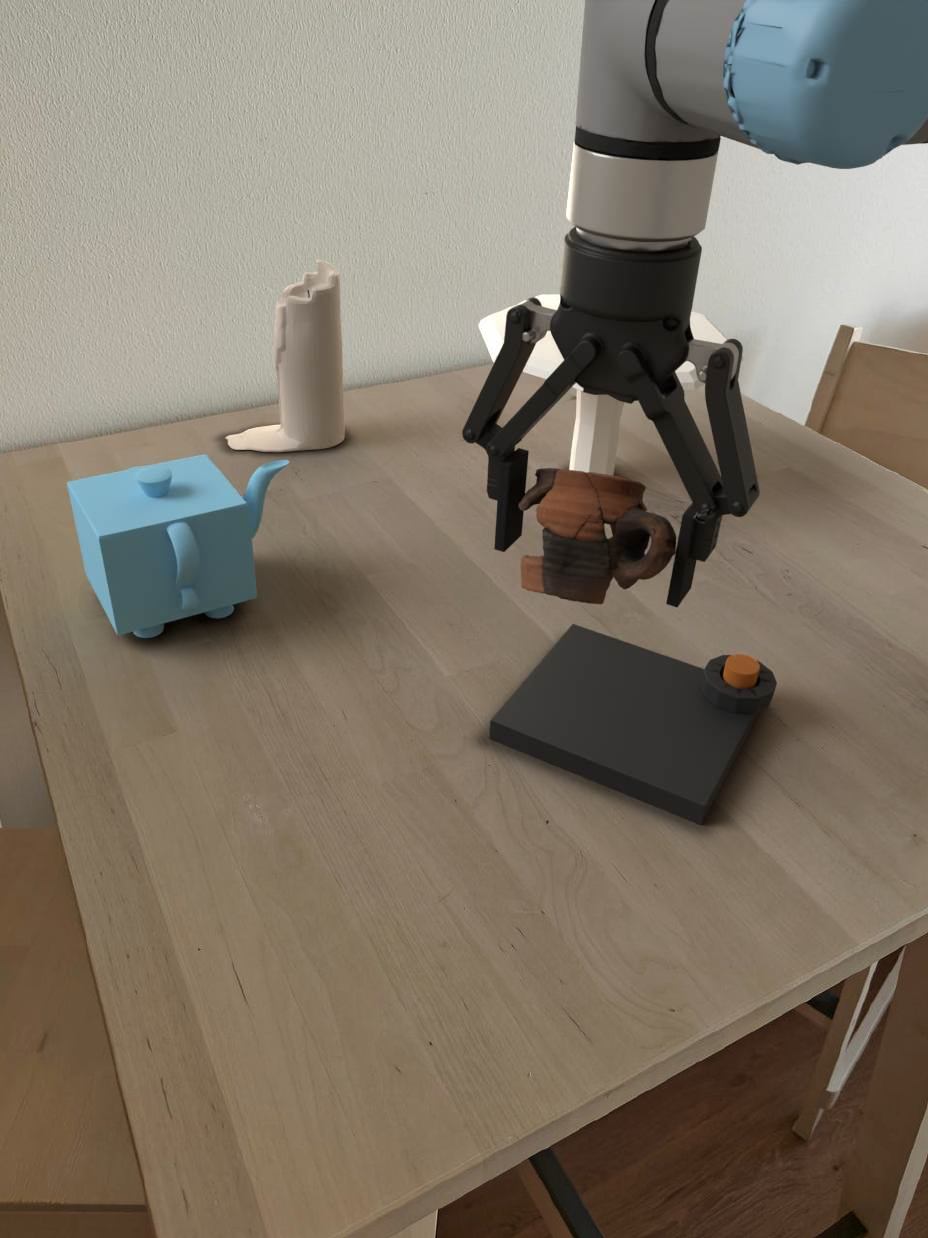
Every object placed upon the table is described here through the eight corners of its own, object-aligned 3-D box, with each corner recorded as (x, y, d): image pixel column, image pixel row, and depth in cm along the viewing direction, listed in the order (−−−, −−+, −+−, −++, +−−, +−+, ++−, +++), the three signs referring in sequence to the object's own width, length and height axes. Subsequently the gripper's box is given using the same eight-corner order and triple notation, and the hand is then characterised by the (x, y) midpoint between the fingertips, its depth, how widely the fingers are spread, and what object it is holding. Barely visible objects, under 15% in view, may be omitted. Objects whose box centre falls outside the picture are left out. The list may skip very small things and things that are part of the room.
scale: (774, 702, 82) (784, 669, 80) (711, 829, 71) (720, 793, 69) (576, 633, 89) (580, 601, 87) (488, 738, 77) (491, 703, 75)
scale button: (760, 676, 80) (764, 660, 79) (750, 694, 78) (754, 678, 77) (728, 665, 81) (732, 650, 80) (718, 682, 79) (721, 667, 78)
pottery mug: (476, 583, 67) (496, 459, 66) (559, 591, 74) (577, 480, 73) (630, 614, 59) (654, 474, 59) (706, 620, 66) (728, 495, 66)
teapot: (129, 668, 83) (103, 531, 75) (82, 576, 94) (55, 449, 86) (330, 610, 91) (324, 481, 83) (265, 532, 101) (255, 412, 94)
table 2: (707, 556, 101) (739, 398, 91) (438, 511, 106) (442, 358, 97) (722, 441, 123) (750, 305, 114) (499, 409, 128) (508, 276, 119)
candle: (223, 430, 120) (205, 259, 109) (339, 421, 124) (333, 254, 112) (228, 457, 115) (210, 279, 103) (349, 447, 118) (344, 273, 106)
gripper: (873, 253, 53) (782, 595, 66) (474, 187, 62) (461, 498, 75) (842, 289, 48) (750, 654, 60) (410, 210, 57) (408, 542, 69)
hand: (590, 568), depth 68 cm, fingers closed on pottery mug, 12 cm apart
